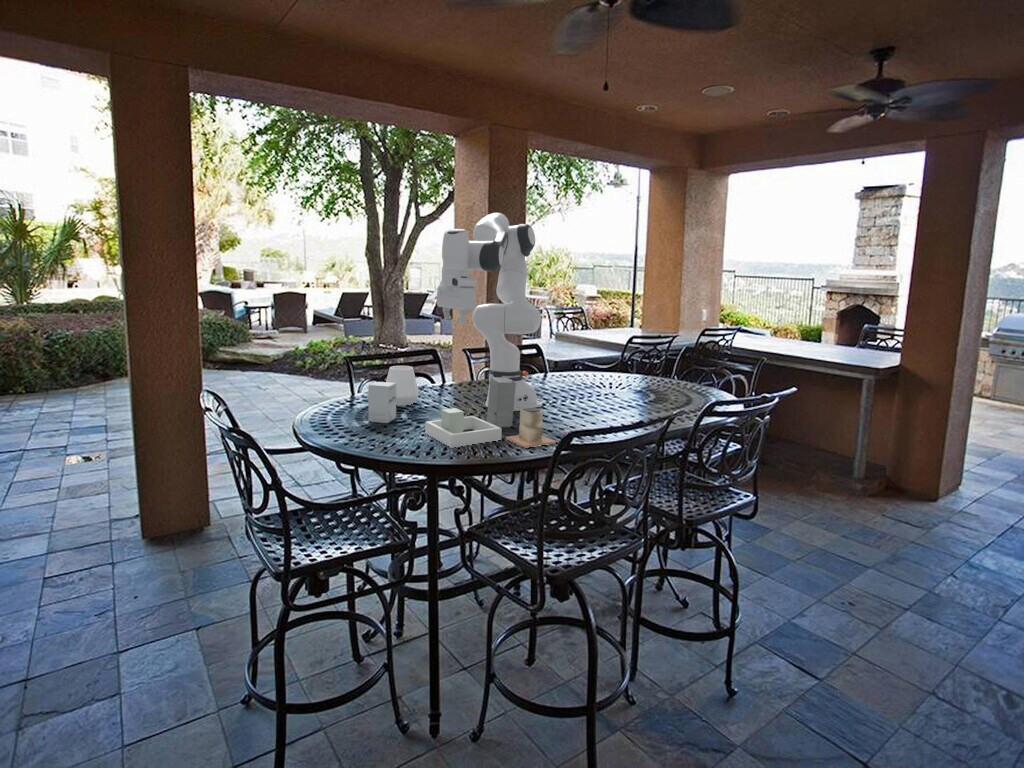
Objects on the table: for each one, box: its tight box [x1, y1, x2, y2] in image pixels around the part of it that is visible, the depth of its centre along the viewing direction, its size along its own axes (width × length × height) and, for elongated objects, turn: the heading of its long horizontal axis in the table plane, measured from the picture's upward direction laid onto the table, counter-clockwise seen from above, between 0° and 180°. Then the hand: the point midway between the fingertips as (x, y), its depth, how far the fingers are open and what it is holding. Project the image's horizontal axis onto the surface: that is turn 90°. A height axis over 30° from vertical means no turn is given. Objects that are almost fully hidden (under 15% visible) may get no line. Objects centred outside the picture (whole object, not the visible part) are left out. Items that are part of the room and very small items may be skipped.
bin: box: [424, 415, 503, 449], centre depth 194 cm, size 17×17×4 cm
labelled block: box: [518, 407, 544, 442], centre depth 191 cm, size 5×5×9 cm
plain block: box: [440, 407, 465, 434], centre depth 192 cm, size 5×5×9 cm
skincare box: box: [486, 377, 516, 428], centre depth 210 cm, size 8×7×16 cm
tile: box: [505, 434, 556, 449], centre depth 192 cm, size 11×11×1 cm
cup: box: [385, 365, 420, 407], centre depth 237 cm, size 13×13×14 cm
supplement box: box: [367, 381, 397, 424], centre depth 211 cm, size 7×7×13 cm
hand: (454, 322), depth 204 cm, fingers open, 8 cm apart
